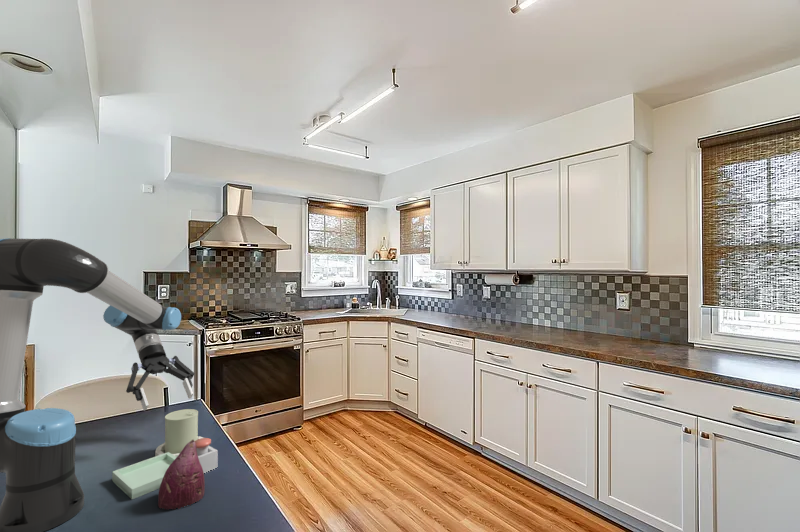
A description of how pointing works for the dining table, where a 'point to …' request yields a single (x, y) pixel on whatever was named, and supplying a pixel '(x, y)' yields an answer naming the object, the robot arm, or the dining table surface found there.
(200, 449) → the button
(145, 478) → the tray
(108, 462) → the dining table surface
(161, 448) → the socket ring
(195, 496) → the vegetable
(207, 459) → the button post
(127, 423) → the dining table surface
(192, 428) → the can
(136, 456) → the dining table surface
